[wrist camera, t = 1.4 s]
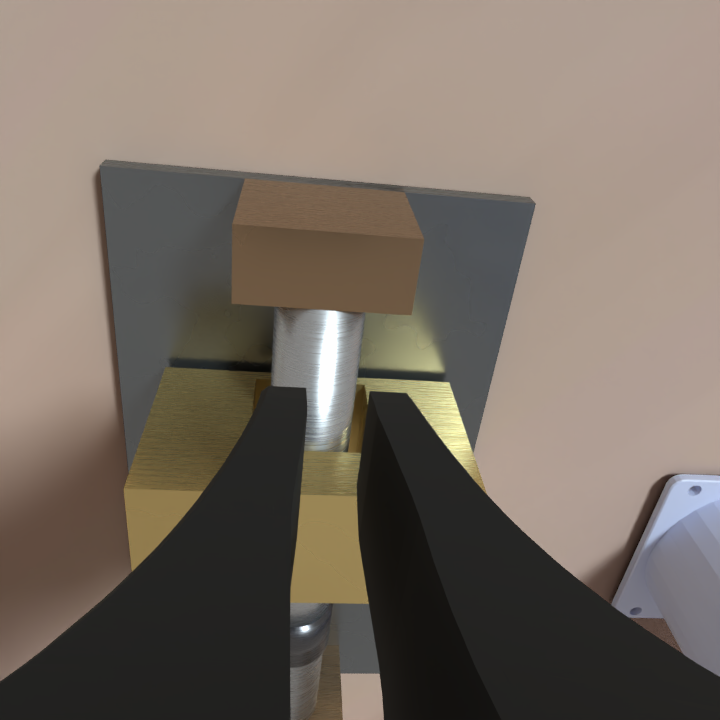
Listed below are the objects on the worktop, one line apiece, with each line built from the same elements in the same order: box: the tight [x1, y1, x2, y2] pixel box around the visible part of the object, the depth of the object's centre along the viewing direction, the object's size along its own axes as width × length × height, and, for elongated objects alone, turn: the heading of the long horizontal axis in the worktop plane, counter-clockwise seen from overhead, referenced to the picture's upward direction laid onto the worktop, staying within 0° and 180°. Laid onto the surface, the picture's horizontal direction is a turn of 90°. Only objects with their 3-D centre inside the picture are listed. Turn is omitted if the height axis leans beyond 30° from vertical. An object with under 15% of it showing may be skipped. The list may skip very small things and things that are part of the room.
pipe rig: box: [100, 160, 535, 720], centre depth 22 cm, size 12×22×4 cm, turn 174°
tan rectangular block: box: [124, 367, 487, 604], centre depth 20 cm, size 9×4×6 cm, turn 84°
